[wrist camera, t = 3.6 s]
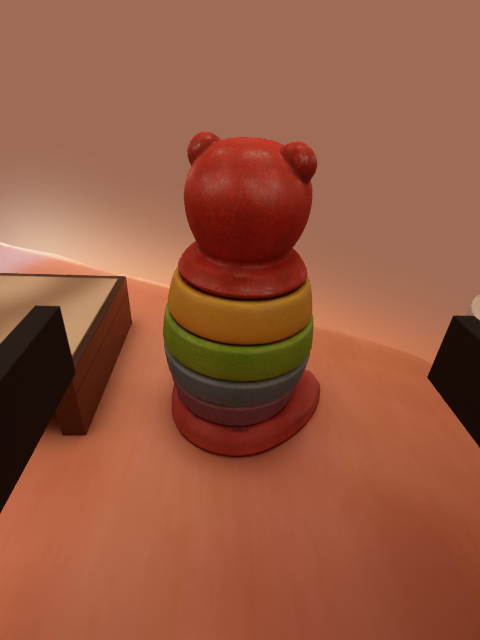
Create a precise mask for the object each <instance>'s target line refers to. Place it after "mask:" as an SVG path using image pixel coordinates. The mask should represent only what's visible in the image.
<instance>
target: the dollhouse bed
mask: <svg viewBox="0 0 480 640" xmlns="http://www.w3.org/2000/svg"><path fill="white" fill-rule="evenodd" d="M35 305H37V306H60V308H61V312H62V317H63V321H64V325H65V329H66V333H67V338H68V342H69V346H70V350H71V354H72V358H73V363H74V367H75V371H76V374H75V376H74V378H73V379H72V381H71V383H70V385H69V387H68V389H67V391H66V392H65V394H64V396H63V398H62V400H61V402H60V404H59V405H58V407H57V409H56V411H55V412H56V415H57V418H58V421H59V425H60V428H61V431H62V434H63V435H86V433H87V430H88V428H89V425H90V423H91V420H92V418H93V416H94V413H95V411H96V408H97V406H98V403H99V401H100V399H101V396H102V394H103V391H104V389H105V386H106V384H107V381H108V379H109V377H110V374H111V372H112V369H113V367H114V364H115V362H116V360H117V357H118V355H119V352H120V350H121V347H122V345H123V343H124V340H125V338H126V335H127V333H128V330H129V328H130V325H131V323H132V320H131V312H130V304H129V296H128V289H127V281H126V277H124V276H88V275H52V274H16V273H0V343H1V342H2V341H3V340H4V339H5V338H6V337H7V336H8V334H9V333H10V332H11V331H12V330H13V329H14V328H15V327H16V326H17V325H18V324H19V323H20V321H21V320H22V319H23V318H24V317H25V316H26V315H27V314H28V313H29V312H30V311H31V309H32V308H33V307H34V306H35Z"/></svg>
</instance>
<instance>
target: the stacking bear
mask: <svg viewBox="0 0 480 640" xmlns="http://www.w3.org/2000/svg"><path fill="white" fill-rule="evenodd" d="M187 151H188V158H189V162H190V163H191V169H190V170H189V173H188V175H187V178H186V182H185V189H184V204H185V211H186V216H187V220H188V223H189V226H190V229H191V231H192V233H193V235H194V237H195V239H196V241H195V242H194V243H192V244H191V245H190V246H189V247H188V248H187V249H186V250H185V252H184V253H183V254H182V257H181V258H180V260H179V262H178V267H177V268H176V270H175V272H174V275H173V278H172V281H171V285H170V290H169V295H168V303H167V305H166V309H165V316H164V327H163V337H164V348H165V353H166V357H167V362H168V365H169V369H170V371H171V373H172V377H173V381H174V387H173V394H172V414H173V418H174V421H175V423H176V425H177V427H178V429H179V430H180V431H181V433H182V434H183V435H184V436H185V437H186V438H187V439H189V440H190V441H191V442H192V443H194V444H196V445H197V446H199V447H201V448H203V449H205V450H208V451H211V452H214V453H218V454H224V455H249V454H254V453H258V452H261V451H264V450H266V449H269V448H271V447H273V446H275V445H277V444H279V443H281V442H283V441H284V440H286V439H288V438H289V437H290V436H292V435H293V434H295V433H296V432H297V431H298V430H299V429H300V428H301V427H302V426H303V425H304V424H305V423H306V422H307V421H308V420H309V418H310V417H311V415H312V414H313V412H314V410H315V408H316V406H317V403H318V400H319V396H320V385H319V382H318V381H317V379H316V378H315V377H314V375H313V374H312V373H311V372H309V371H308V370H305V367H306V364H307V362H308V359H309V355H310V350H311V346H312V339H313V315H312V293H311V285H310V281H309V278H308V277H307V269H306V266H305V264H304V262H303V260H302V258H301V257H300V255H299V254H298V253H297V252H296V251H295V250H294V249H293V246H294V245H295V244H296V242H297V240H298V239H299V237H300V236H301V234H302V232H303V230H304V228H305V226H306V224H307V221H308V218H309V214H310V210H311V205H312V185H311V178H312V177H313V175H314V174H315V172H316V168H317V159H316V156H315V154H314V152H313V150H312V149H311V148H310V147H309V146H308V145H307V144H305V143H303V142H299V141H295V142H291V143H289V144H287V145H282V144H280V143H278V142H275V141H272V140H267V139H261V138H251V137H237V138H228V139H225V140H221V139H220V138H218V137H217V136H216V135H215V134H213V133H211V132H201V133H198V134H197V135H195V136H194V137H193V138H192V140H191V141H190V143H189V145H188V150H187Z"/></svg>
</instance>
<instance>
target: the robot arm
mask: <svg viewBox="0 0 480 640" xmlns="http://www.w3.org/2000/svg"><path fill="white" fill-rule="evenodd" d="M75 374H76V371H75V367H74V363H73V358H72V354H71V350H70V346H69V342H68V338H67V333H66V329H65V325H64V321H63V317H62V312H61V308H60V306H37V305H35V306H34V307H33V308H32V309H31V311H30V312H29V313H28V314H27V315H26V316H25V317H24V318H23V319H22V320H21V321H20V323H19V324H18V325H17V326H16V327H15V328H14V329H13V330H12V331H11V332H10V333H9V334H8V336H7V337H6V338H5V339H4V340H3V341H2V342H1V343H0V513H1V511H2V509H3V507H4V506H5V504H6V502H7V500H8V498H9V496H10V494H11V493H12V491H13V489H14V487H15V485H16V483H17V481H18V480H19V478H20V476H21V474H22V472H23V470H24V468H25V467H26V465H27V463H28V461H29V459H30V457H31V455H32V454H33V452H34V450H35V448H36V446H37V444H38V442H39V441H40V439H41V437H42V435H43V433H44V431H45V429H46V428H47V426H48V424H49V422H50V420H51V418H52V417H53V415H54V413H55V411H56V409H57V407H58V405H59V404H60V402H61V400H62V398H63V396H64V394H65V392H66V391H67V389H68V387H69V385H70V383H71V381H72V379H73V378H74V376H75ZM427 378H428V379H429V380H430V382H431V383H432V384H433V386H434V387H435V388H436V390H437V391H438V392H439V394H440V395H441V396H442V398H443V399H444V400H445V402H446V403H447V404H448V406H449V407H450V408H451V410H452V411H453V412H454V414H455V415H456V416H457V418H458V419H459V420H460V422H461V423H462V424H463V426H464V427H465V428H466V430H467V431H468V432H469V434H470V435H471V436H472V438H473V439H474V440H475V442H476V443H477V444H478V446H479V447H480V320H479V319H478V318H476V317H475V316H453V318H452V320H451V322H450V325H449V327H448V330H447V332H446V334H445V336H444V339H443V341H442V344H441V346H440V348H439V351H438V353H437V356H436V358H435V360H434V363H433V365H432V367H431V370H430V372H429V374H428V377H427Z"/></svg>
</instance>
